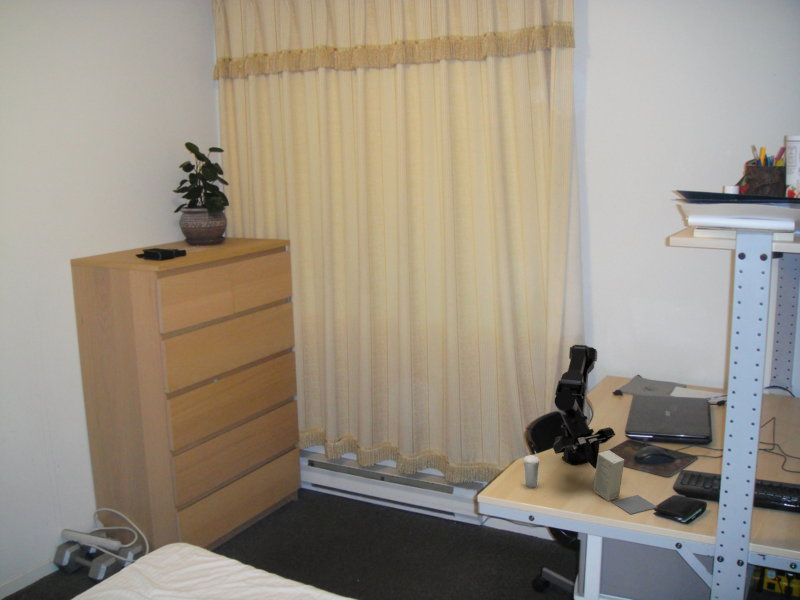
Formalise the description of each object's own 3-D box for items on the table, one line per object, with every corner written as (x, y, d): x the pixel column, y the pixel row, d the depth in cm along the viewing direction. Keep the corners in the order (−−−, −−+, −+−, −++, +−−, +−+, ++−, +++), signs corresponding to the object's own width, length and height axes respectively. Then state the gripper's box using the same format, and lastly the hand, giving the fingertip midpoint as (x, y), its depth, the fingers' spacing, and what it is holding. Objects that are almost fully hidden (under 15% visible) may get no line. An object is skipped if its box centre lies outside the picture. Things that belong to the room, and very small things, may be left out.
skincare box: (619, 497, 196) (626, 460, 192) (607, 501, 194) (614, 464, 190) (602, 485, 201) (609, 449, 197) (591, 489, 199) (597, 452, 195)
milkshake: (542, 489, 202) (542, 457, 201) (523, 488, 203) (523, 456, 202) (542, 483, 207) (542, 451, 205) (523, 482, 208) (523, 450, 206)
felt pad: (637, 495, 197) (637, 494, 197) (657, 507, 189) (657, 506, 189) (611, 502, 194) (611, 501, 193) (630, 514, 186) (630, 513, 186)
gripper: (585, 424, 215) (607, 472, 207) (535, 435, 207) (557, 485, 200) (603, 408, 206) (628, 457, 199) (552, 419, 198) (576, 470, 191)
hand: (597, 468), depth 197 cm, fingers closed
